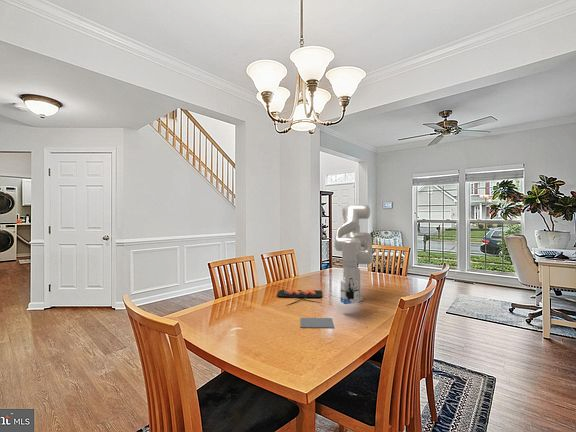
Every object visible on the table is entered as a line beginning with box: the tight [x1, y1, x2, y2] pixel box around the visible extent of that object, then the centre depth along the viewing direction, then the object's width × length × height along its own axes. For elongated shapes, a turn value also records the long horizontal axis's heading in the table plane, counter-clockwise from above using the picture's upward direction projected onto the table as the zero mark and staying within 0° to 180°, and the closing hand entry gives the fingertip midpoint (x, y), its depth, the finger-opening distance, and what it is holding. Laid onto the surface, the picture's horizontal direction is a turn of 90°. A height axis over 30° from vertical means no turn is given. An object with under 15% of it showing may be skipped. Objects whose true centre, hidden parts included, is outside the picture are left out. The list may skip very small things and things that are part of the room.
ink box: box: [340, 279, 360, 305], centre depth 163 cm, size 8×5×12 cm, turn 105°
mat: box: [299, 317, 335, 329], centre depth 150 cm, size 12×16×1 cm
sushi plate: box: [276, 288, 323, 307], centre depth 191 cm, size 29×30×4 cm
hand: (349, 296), depth 163 cm, fingers closed on ink box, 6 cm apart
